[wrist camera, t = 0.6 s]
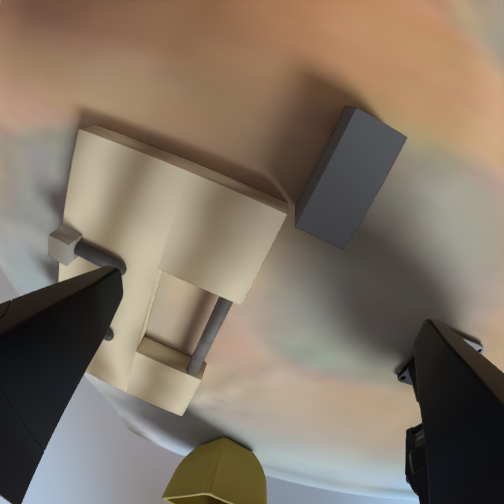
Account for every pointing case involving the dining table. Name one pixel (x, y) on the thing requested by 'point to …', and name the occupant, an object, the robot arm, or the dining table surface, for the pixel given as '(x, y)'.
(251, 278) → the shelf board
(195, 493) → the flower pot
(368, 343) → the dining table surface
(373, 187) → the dark grey chamfered block
